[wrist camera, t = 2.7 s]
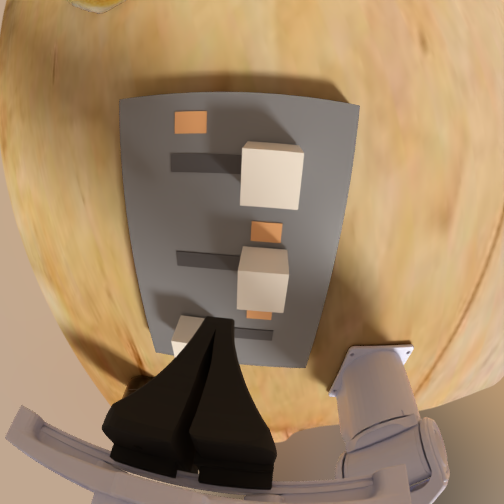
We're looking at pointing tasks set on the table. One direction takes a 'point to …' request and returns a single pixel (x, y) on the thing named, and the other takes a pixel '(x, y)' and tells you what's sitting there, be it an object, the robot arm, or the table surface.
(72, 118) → the table surface
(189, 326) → the block
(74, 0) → the bread roll
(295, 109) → the switch panel
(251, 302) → the slider middle
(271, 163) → the block
